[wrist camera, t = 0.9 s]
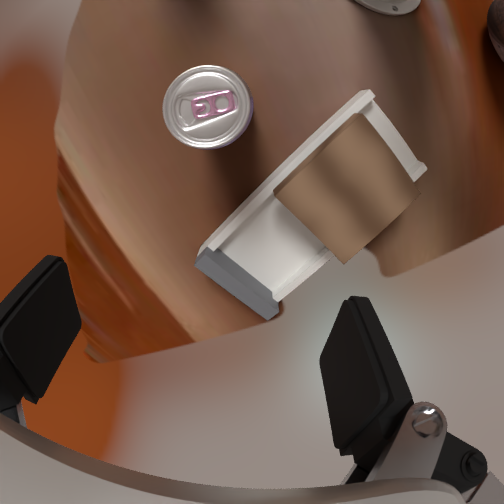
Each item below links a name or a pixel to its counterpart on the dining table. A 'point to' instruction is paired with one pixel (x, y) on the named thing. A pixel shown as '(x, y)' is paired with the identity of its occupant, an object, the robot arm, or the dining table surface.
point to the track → (284, 224)
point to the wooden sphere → (496, 26)
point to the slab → (348, 188)
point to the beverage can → (208, 107)
